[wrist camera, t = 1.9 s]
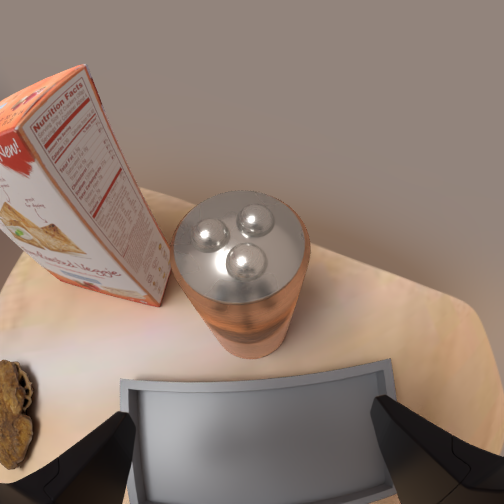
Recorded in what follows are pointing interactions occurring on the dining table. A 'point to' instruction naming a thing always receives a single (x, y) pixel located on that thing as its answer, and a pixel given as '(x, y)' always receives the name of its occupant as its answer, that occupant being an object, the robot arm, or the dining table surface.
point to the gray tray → (259, 439)
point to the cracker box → (77, 192)
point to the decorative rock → (14, 414)
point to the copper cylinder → (242, 268)
